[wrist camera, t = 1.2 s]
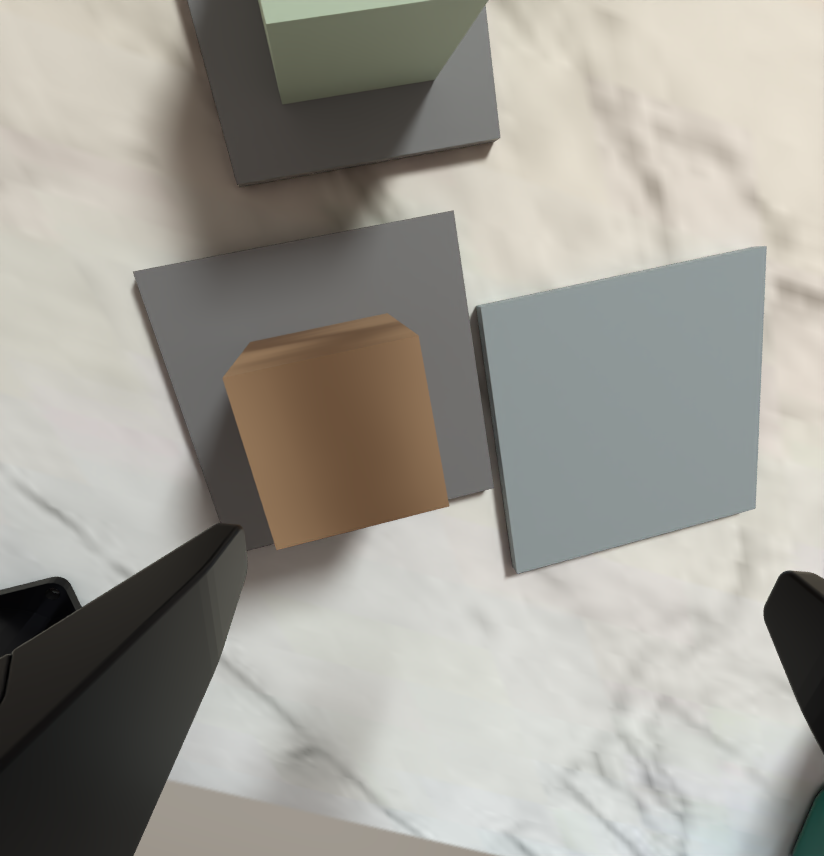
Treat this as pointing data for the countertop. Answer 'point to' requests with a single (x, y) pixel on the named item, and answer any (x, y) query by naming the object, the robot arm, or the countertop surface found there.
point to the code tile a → (307, 309)
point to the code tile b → (336, 104)
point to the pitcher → (812, 831)
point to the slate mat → (626, 404)
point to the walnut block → (337, 428)
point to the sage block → (361, 43)
